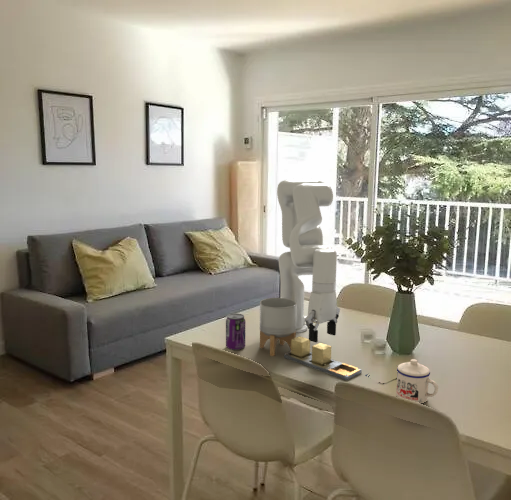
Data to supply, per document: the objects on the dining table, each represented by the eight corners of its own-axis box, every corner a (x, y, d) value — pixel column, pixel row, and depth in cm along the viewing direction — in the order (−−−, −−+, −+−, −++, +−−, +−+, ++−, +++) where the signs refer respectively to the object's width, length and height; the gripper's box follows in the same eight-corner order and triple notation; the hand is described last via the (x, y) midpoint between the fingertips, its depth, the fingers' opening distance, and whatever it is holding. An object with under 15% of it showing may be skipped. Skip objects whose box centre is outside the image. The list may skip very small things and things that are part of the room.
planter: (289, 359, 175) (291, 309, 172) (254, 354, 179) (254, 305, 176) (299, 346, 187) (300, 299, 184) (266, 342, 191) (266, 296, 188)
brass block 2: (320, 361, 173) (320, 342, 171) (330, 364, 169) (331, 346, 168) (311, 364, 169) (312, 346, 168) (322, 368, 166) (323, 349, 165)
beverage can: (242, 352, 181) (243, 319, 179) (223, 350, 183) (223, 318, 181) (247, 345, 188) (247, 313, 186) (228, 343, 189) (228, 312, 187)
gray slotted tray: (298, 352, 181) (298, 347, 181) (361, 374, 163) (361, 369, 163) (283, 358, 176) (283, 353, 175) (346, 381, 158) (347, 376, 157)
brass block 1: (299, 353, 179) (299, 336, 178) (309, 357, 176) (310, 339, 175) (291, 357, 176) (291, 339, 175) (301, 360, 173) (301, 342, 171)
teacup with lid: (389, 398, 147) (391, 360, 145) (404, 388, 153) (406, 351, 151) (429, 412, 139) (432, 372, 137) (443, 401, 145) (446, 362, 143)
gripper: (330, 281, 173) (329, 329, 176) (297, 289, 161) (296, 341, 164) (349, 284, 168) (347, 334, 171) (316, 293, 156) (315, 347, 159)
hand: (322, 337), depth 168 cm, fingers open, 9 cm apart
